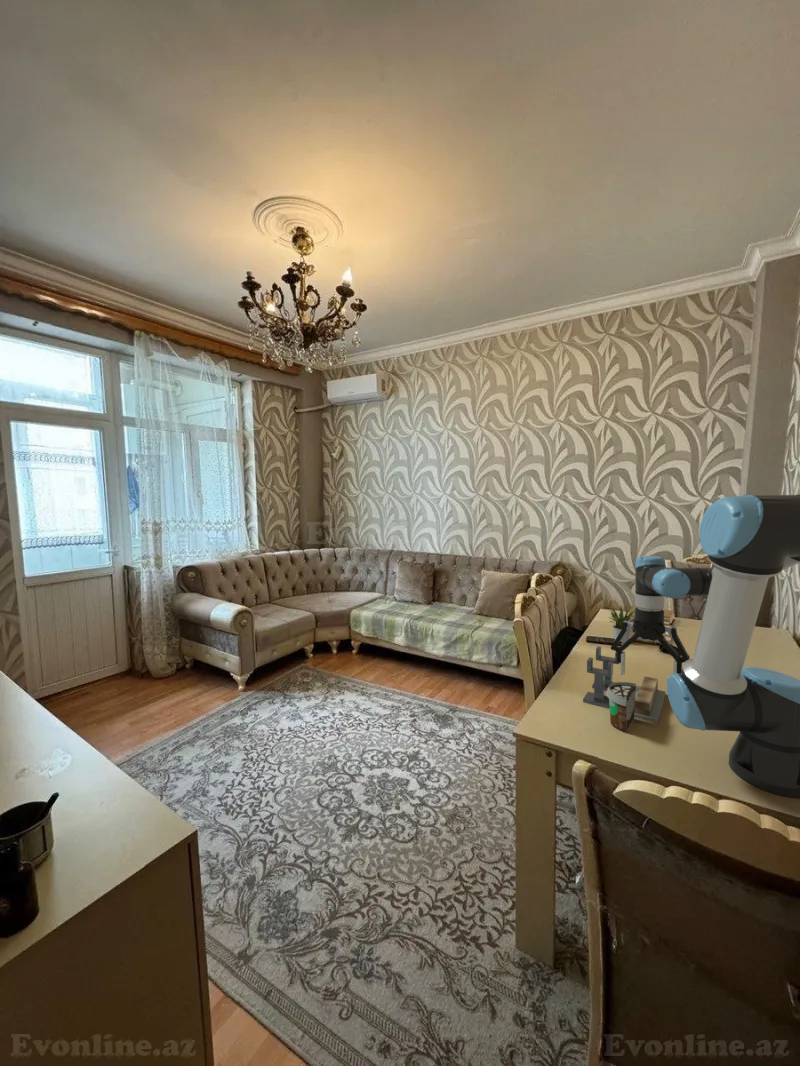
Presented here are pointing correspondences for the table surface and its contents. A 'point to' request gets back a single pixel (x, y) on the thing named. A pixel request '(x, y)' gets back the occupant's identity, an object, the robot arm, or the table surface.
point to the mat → (653, 706)
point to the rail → (646, 696)
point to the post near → (598, 685)
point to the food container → (622, 704)
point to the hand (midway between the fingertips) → (648, 678)
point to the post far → (605, 665)
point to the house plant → (621, 623)
